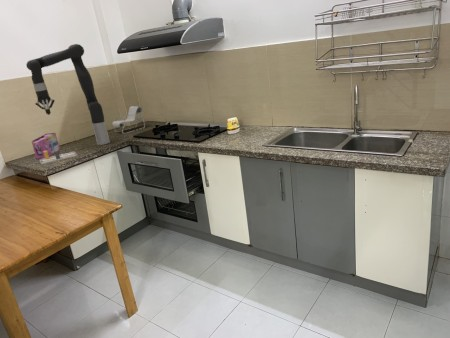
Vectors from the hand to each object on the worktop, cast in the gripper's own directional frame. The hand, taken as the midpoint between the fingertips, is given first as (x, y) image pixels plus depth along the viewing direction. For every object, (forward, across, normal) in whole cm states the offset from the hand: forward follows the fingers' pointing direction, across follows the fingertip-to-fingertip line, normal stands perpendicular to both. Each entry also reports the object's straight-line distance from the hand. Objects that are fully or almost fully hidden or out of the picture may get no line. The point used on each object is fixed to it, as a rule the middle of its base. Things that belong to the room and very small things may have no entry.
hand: (48, 114), depth 249 cm
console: (+30, +3, +8) cm, 32 cm away
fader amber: (+29, +10, +5) cm, 31 cm away
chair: (+32, -63, -33) cm, 78 cm away
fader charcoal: (+29, +4, +11) cm, 31 cm away
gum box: (+31, +7, -14) cm, 35 cm away
